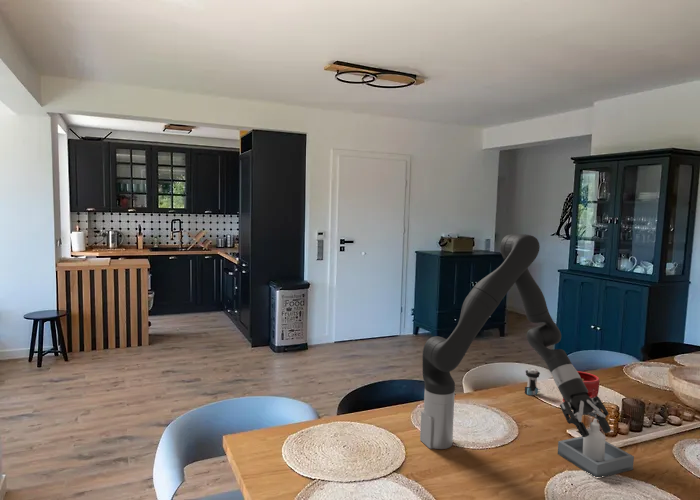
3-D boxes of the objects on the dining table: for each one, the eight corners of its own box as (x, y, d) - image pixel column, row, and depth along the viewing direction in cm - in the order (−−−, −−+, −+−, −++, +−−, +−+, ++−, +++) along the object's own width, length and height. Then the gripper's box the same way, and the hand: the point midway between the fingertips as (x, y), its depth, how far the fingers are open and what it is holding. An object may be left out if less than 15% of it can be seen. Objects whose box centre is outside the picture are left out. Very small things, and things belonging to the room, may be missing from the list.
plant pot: (599, 404, 181) (601, 373, 180) (595, 416, 170) (598, 384, 169) (562, 396, 188) (564, 367, 187) (556, 407, 177) (558, 376, 176)
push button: (535, 390, 194) (537, 366, 193) (544, 395, 188) (545, 371, 188) (521, 391, 192) (522, 367, 191) (529, 397, 187) (531, 372, 186)
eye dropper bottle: (592, 451, 143) (594, 413, 141) (606, 461, 137) (609, 422, 136) (580, 454, 141) (581, 415, 140) (594, 464, 136) (596, 424, 135)
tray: (596, 478, 130) (597, 465, 130) (557, 453, 143) (558, 441, 143) (632, 469, 135) (633, 456, 135) (591, 446, 148) (592, 434, 148)
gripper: (558, 379, 142) (587, 433, 133) (593, 374, 147) (623, 426, 138) (544, 390, 148) (570, 442, 138) (578, 385, 153) (606, 435, 143)
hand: (597, 434), depth 138 cm, fingers open, 8 cm apart
